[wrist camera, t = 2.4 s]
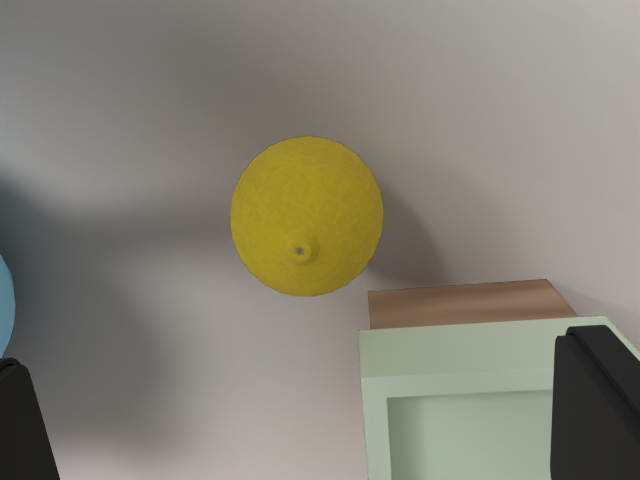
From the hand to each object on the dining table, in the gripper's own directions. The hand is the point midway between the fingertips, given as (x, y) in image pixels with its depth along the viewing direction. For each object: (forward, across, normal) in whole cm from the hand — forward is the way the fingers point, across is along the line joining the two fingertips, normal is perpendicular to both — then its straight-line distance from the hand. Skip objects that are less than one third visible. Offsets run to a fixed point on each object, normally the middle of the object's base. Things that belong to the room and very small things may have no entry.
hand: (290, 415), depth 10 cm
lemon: (+16, +1, 0) cm, 16 cm away
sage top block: (+11, -6, +9) cm, 15 cm away
